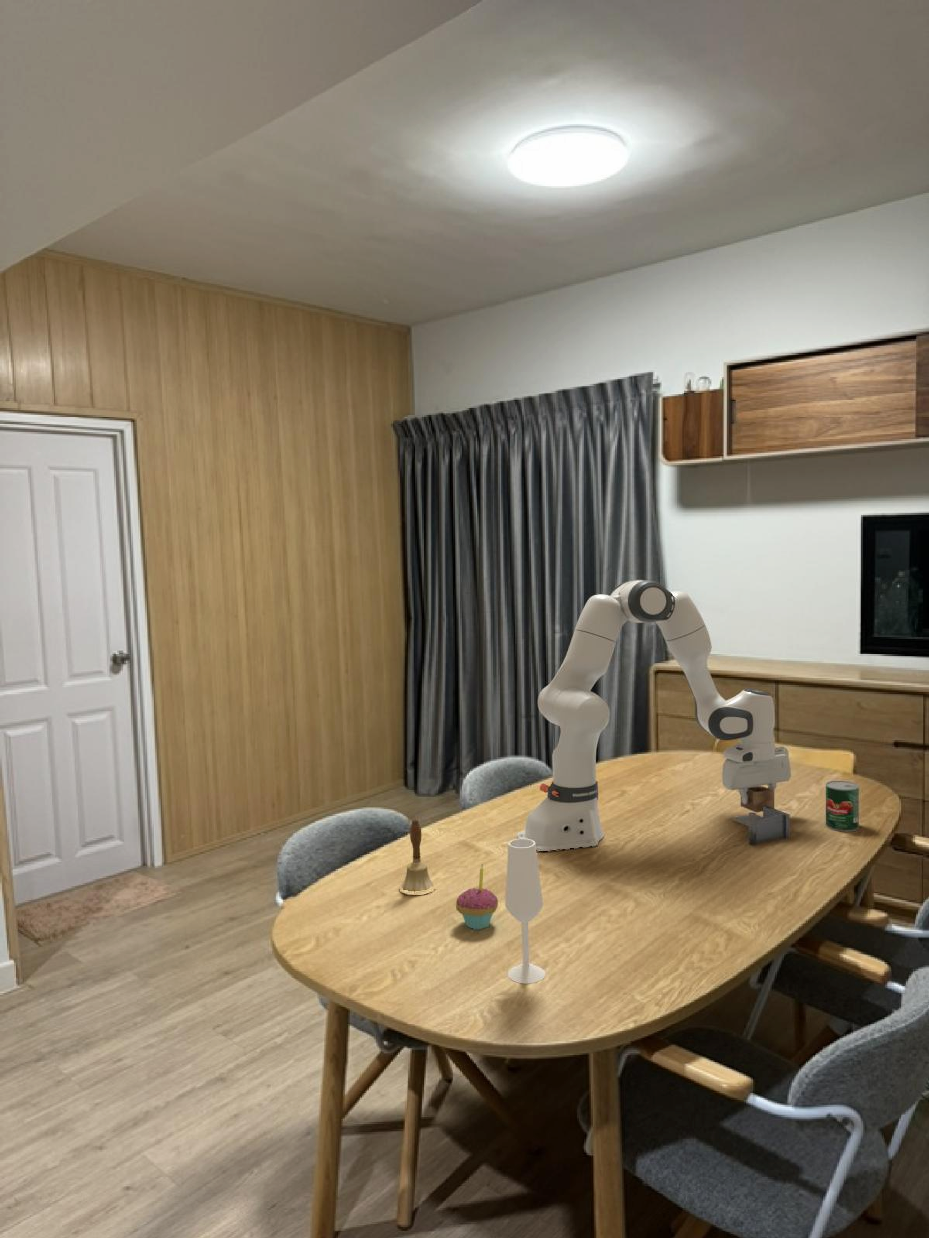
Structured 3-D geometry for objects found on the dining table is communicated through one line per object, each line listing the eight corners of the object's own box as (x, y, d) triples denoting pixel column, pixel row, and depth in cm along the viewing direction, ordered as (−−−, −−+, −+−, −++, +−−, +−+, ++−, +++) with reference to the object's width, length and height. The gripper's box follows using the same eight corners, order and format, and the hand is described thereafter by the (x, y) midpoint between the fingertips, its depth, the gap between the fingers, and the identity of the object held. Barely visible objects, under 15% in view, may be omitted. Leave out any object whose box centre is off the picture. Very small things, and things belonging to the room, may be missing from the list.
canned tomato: (827, 830, 218) (827, 788, 217) (824, 820, 225) (823, 779, 224) (861, 832, 215) (861, 790, 214) (856, 822, 223) (856, 781, 222)
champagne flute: (524, 987, 148) (519, 852, 145) (500, 972, 153) (495, 842, 151) (553, 974, 151) (548, 843, 149) (528, 960, 157) (524, 833, 155)
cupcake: (475, 911, 179) (472, 856, 177) (507, 922, 173) (505, 864, 172) (448, 927, 172) (445, 869, 171) (481, 938, 167) (479, 878, 165)
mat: (750, 827, 222) (750, 825, 222) (732, 819, 229) (732, 817, 229) (771, 823, 225) (771, 820, 225) (753, 815, 231) (753, 813, 231)
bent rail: (753, 845, 209) (752, 815, 209) (730, 835, 217) (730, 806, 216) (789, 837, 214) (789, 808, 213) (766, 828, 221) (766, 799, 220)
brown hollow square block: (756, 812, 223) (756, 793, 223) (740, 806, 229) (740, 787, 228) (774, 809, 226) (774, 790, 225) (758, 802, 231) (758, 784, 231)
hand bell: (443, 884, 193) (440, 816, 192) (423, 898, 186) (419, 827, 185) (412, 878, 198) (409, 811, 196) (392, 892, 190) (388, 822, 189)
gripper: (779, 743, 233) (779, 792, 234) (718, 752, 225) (718, 803, 226) (796, 747, 227) (796, 798, 228) (734, 757, 219) (734, 809, 220)
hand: (757, 801), depth 227 cm, fingers closed on brown hollow square block, 6 cm apart
